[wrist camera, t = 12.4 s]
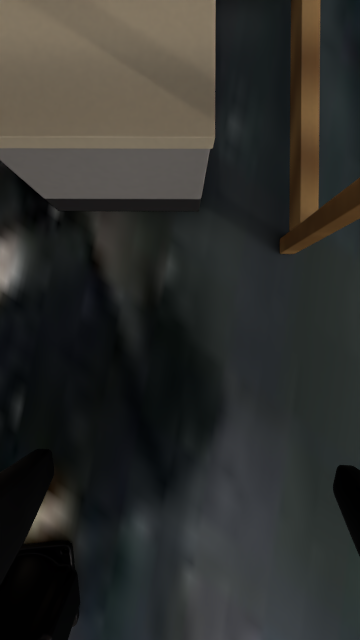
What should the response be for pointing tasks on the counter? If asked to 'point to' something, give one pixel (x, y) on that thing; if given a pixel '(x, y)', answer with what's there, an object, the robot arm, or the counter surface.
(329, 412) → the counter surface
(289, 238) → the shoe rack
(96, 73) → the grey lidded shoebox
